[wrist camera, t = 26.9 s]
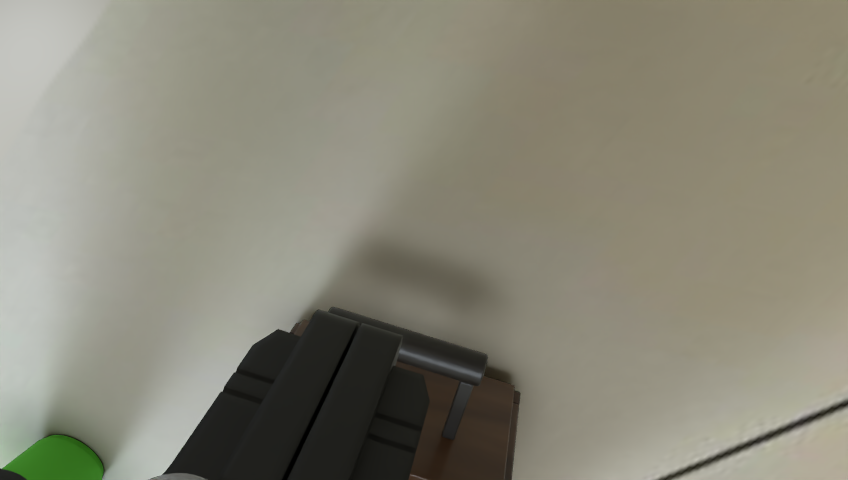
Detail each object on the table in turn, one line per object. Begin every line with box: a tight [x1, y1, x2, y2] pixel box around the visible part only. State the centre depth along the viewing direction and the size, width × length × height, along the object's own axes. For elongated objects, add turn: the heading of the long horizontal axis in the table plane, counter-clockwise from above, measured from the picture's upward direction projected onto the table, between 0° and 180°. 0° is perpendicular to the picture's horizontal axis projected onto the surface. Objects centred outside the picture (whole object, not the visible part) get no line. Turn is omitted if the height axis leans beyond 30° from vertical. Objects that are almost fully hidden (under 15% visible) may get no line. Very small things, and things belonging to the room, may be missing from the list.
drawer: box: [294, 307, 515, 480], centre depth 32 cm, size 18×12×7 cm, turn 168°
